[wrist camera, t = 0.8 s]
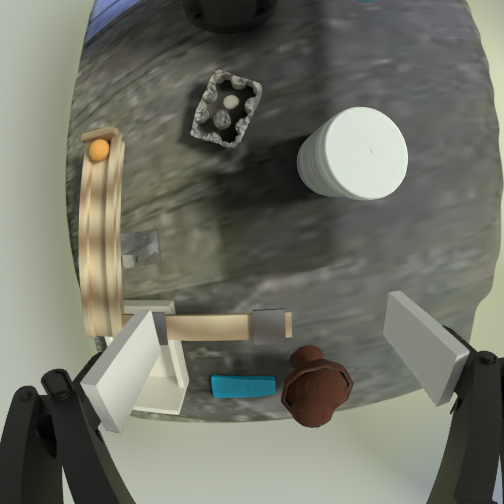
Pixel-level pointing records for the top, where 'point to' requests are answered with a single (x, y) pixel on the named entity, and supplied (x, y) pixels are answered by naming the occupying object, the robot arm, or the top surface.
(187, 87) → the top surface
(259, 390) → the sponge
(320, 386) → the ice cream bowl
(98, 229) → the beige angled channel
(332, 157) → the supplement tub
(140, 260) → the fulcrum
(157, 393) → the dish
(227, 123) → the egg carton
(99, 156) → the ball
